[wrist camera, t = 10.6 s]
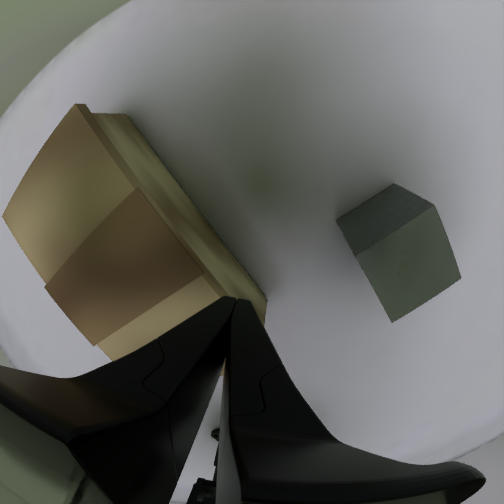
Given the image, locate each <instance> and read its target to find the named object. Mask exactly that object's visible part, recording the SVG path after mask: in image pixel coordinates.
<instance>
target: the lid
mask: <svg viewBox="0 0 504 504" xmlns="http://www.w3.org/2000/svg"><path fill="white" fill-rule="evenodd" d="M2 217H3V219H4V221H5V222H6V224H7V226H8V227H9V229H10V231H11V232H12V234H13V236H14V237H15V239H16V241H17V242H18V244H19V245H20V247H21V248H22V250H23V252H24V253H25V255H26V256H27V258H28V259H29V261H30V262H31V263H32V265H33V266H34V268H35V269H36V271H37V272H38V273H39V275H40V276H41V278H42V279H43V280H44V282H45V283H46V286H45V287H44V288H45V289H46V290H47V292H48V293H49V294H50V296H51V297H52V298H53V299H54V301H55V302H56V303H57V305H58V306H59V307H60V308H61V309H62V311H63V312H64V313H65V314H66V316H67V317H68V318H69V319H70V320H71V322H72V323H73V324H74V325H75V326H76V327H77V328H78V330H79V331H80V332H81V333H82V334H83V335H84V336H85V338H86V339H87V340H88V341H89V342H90V343H91V344H92V345H93V346H95V345H96V344H97V345H98V347H99V348H100V349H101V350H102V351H103V352H104V353H105V354H106V355H107V356H108V357H109V358H110V359H111V360H112V361H115V360H117V359H119V358H121V357H123V356H125V355H127V354H129V353H131V352H133V351H135V350H137V349H139V348H140V347H142V346H144V345H146V344H147V343H149V342H151V341H152V340H154V339H157V337H159V336H160V335H162V334H164V333H165V332H167V331H168V330H170V329H172V328H173V327H175V326H176V325H178V324H180V323H181V322H183V321H184V320H186V319H188V318H189V317H191V316H192V315H194V314H196V313H197V312H199V311H200V310H202V309H203V308H205V307H207V306H208V305H210V304H211V303H213V302H214V301H216V300H217V299H219V298H221V297H222V296H230V295H229V294H228V293H227V292H226V291H225V289H224V288H223V287H222V286H221V285H220V283H219V282H218V281H217V280H216V278H215V277H214V276H213V275H212V274H211V272H210V271H209V270H208V269H207V267H206V266H205V265H204V264H203V262H202V261H201V260H200V259H199V257H198V256H197V255H196V254H195V252H194V251H193V250H192V249H191V247H190V246H189V245H188V244H187V242H186V241H185V240H184V238H183V237H182V236H181V235H180V233H179V232H178V231H177V229H176V228H175V227H174V226H173V224H172V223H171V222H170V220H169V219H168V218H167V217H166V215H165V214H164V213H163V211H162V210H161V209H160V207H159V206H158V205H157V203H156V202H155V201H154V199H153V198H152V197H151V195H150V194H149V193H148V191H147V190H146V189H145V187H144V186H143V185H142V183H141V182H140V181H139V179H138V178H137V177H136V175H135V174H134V172H133V171H132V170H131V168H130V167H129V166H128V164H127V163H126V161H125V160H124V159H123V157H122V156H121V155H120V153H119V152H118V150H117V149H116V148H115V146H114V145H113V143H112V142H111V141H110V139H109V138H108V136H107V135H106V133H105V132H104V131H103V129H102V128H101V126H100V125H99V123H98V122H97V120H96V119H95V118H94V116H93V115H92V113H91V112H90V110H89V109H88V107H87V106H86V104H74V105H73V107H72V108H71V109H70V110H69V112H68V113H67V114H66V115H65V117H64V118H63V119H62V121H61V122H60V123H59V125H58V126H57V127H56V129H55V130H54V131H53V133H52V134H51V135H50V137H49V138H48V140H47V141H46V143H45V144H44V145H43V147H42V148H41V150H40V151H39V153H38V154H37V156H36V157H35V159H34V161H33V162H32V164H31V165H30V167H29V168H28V170H27V172H26V173H25V175H24V177H23V178H22V180H21V182H20V184H19V185H18V187H17V189H16V191H15V192H14V194H13V196H12V198H11V200H10V202H9V204H8V206H7V208H6V209H5V211H4V213H3V215H2ZM224 367H225V363H224V366H223V369H222V371H221V374H220V376H222V375H224Z"/></svg>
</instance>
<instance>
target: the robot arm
mask: <svg viewBox="0 0 504 504" xmlns="http://www.w3.org/2000/svg"><path fill="white" fill-rule="evenodd" d="M224 363H225V367H224V378H223V392H222V406H221V420H220V429H217V430H214V431H212V433H211V436H212V437H213V438H214V439H216V440H217V441H218V442H219V443H218V448H217V452H216V456H215V461H214V466H216V468H215V473H214V477H213V481H211V480H205V479H204V478H198V479H197V482H196V483H195V484H194V485H193V488H192V491H191V493H190V496H189V498H188V501H187V503H186V504H460V503H461V502H463V501H465V500H466V499H467V498H469V497H470V496H472V495H473V494H475V493H476V492H477V491H478V490H479V489H481V487H483V485H484V484H485V482H486V478H485V477H484V476H483V474H482V473H481V472H480V471H478V470H477V469H476V468H474V467H472V466H470V465H466V464H464V463H460V462H456V461H450V462H444V463H438V464H432V465H416V464H408V463H404V462H399V461H396V460H392V459H389V458H385V457H382V456H379V455H376V454H372V453H369V452H366V451H363V450H360V449H357V448H354V447H352V446H349V445H346V444H344V443H342V442H340V441H339V440H337V439H336V438H335V437H334V436H333V435H332V434H331V433H330V432H329V431H328V430H327V429H326V427H325V426H324V425H323V423H322V422H321V421H320V419H319V418H318V417H317V416H316V414H315V413H314V412H313V410H312V409H311V408H310V406H309V405H308V404H307V402H306V401H305V399H304V398H303V397H302V395H301V394H300V392H299V391H298V389H297V388H296V387H295V385H294V383H293V382H292V380H291V378H290V376H289V375H288V373H287V371H286V369H285V367H284V365H283V364H282V361H281V359H280V357H279V355H278V354H277V352H276V350H275V348H274V346H273V344H272V342H271V340H270V338H269V336H268V334H267V332H266V330H265V328H264V326H263V324H262V322H261V320H260V318H259V316H258V314H257V312H256V310H255V308H254V306H253V304H252V302H251V301H250V300H247V299H242V298H238V299H236V298H235V297H231V296H222V297H221V298H219V299H217V300H216V301H214V302H213V303H211V304H210V305H208V306H207V307H205V308H203V309H202V310H200V311H199V312H197V313H196V314H194V315H192V316H191V317H189V318H188V319H186V320H184V321H183V322H181V323H180V324H178V325H176V326H175V327H173V328H172V329H170V330H168V331H167V332H165V333H164V334H162V335H160V336H159V337H157V339H154V340H152V341H151V342H149V343H147V344H146V345H144V346H142V347H140V348H139V349H137V350H135V351H133V352H131V353H129V354H127V355H125V356H123V357H121V358H119V359H117V360H115V361H112V362H110V363H108V364H106V365H104V366H101V367H99V368H97V369H95V370H92V371H90V372H88V373H86V374H83V375H80V376H77V377H73V378H56V377H51V376H45V375H40V374H35V373H31V372H26V371H22V370H17V369H13V368H9V367H5V366H1V365H0V504H169V502H170V499H171V497H172V495H173V492H174V490H175V487H176V485H177V482H178V480H179V477H180V475H181V472H182V470H183V467H184V465H185V463H186V460H187V458H188V455H189V453H190V450H191V448H192V445H193V443H194V440H195V438H196V435H197V433H198V430H199V428H200V425H201V422H202V420H203V417H204V415H205V412H206V410H207V407H208V405H209V402H210V400H211V397H212V395H213V392H214V389H215V387H216V384H217V382H218V379H219V377H220V374H221V371H222V369H223V366H224Z"/></svg>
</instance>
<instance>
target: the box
mask: <svg viewBox="0 0 504 504" xmlns="http://www.w3.org/2000/svg"><path fill="white" fill-rule="evenodd" d="M92 115H93V116H94V118H95V119H96V120H97V122H98V123H99V125H100V126H101V128H102V129H103V131H104V132H105V133H106V135H107V136H108V138H109V139H110V141H111V142H112V143H113V145H114V146H115V148H116V149H117V150H118V152H119V153H120V155H121V156H122V157H123V159H124V160H125V161H126V163H127V164H128V166H129V167H130V168H131V170H132V171H133V172H134V174H135V175H136V177H137V178H138V179H139V181H140V182H141V183H142V185H143V186H144V187H145V189H146V190H147V191H148V193H149V194H150V195H151V197H152V198H153V199H154V201H155V202H156V203H157V205H158V206H159V207H160V209H161V210H162V211H163V213H164V214H165V215H166V217H167V218H168V219H169V220H170V222H171V223H172V224H173V226H174V227H175V228H176V229H177V231H178V232H179V233H180V235H181V236H182V237H183V238H184V240H185V241H186V242H187V244H188V245H189V246H190V247H191V249H192V250H193V251H194V252H195V254H196V255H197V256H198V257H199V259H200V260H201V261H202V262H203V264H204V265H205V266H206V267H207V269H208V270H209V271H210V272H211V274H212V275H213V276H214V277H215V278H216V280H217V281H218V282H219V283H220V285H221V286H222V287H223V288H224V289H225V291H226V292H227V293H228V294H229V295H230V296H231V297H235V298H236V299H238V298H242V299H247V300H250V301H251V302H252V304H253V306H254V308H255V310H256V312H257V314H258V316H259V318H260V320H261V322H262V324H263V326H264V323H265V315H266V306H267V299H266V297H265V296H264V295H263V294H262V292H261V291H260V290H259V288H258V287H257V286H256V285H255V283H254V282H253V281H252V280H251V278H250V277H249V276H248V274H247V273H246V272H245V271H244V269H243V268H242V267H241V265H240V264H239V263H238V262H237V260H236V259H235V258H234V256H233V255H232V254H231V253H230V251H229V250H228V249H227V247H226V246H225V245H224V243H223V242H222V241H221V240H220V238H219V237H218V236H217V234H216V233H215V232H214V231H213V229H212V228H211V227H210V225H209V224H208V223H207V221H206V220H205V219H204V217H203V216H202V215H201V214H200V212H199V211H198V210H197V208H196V207H195V206H194V204H193V203H192V202H191V200H190V199H189V198H188V196H187V195H186V194H185V192H184V191H183V190H182V189H181V187H180V186H179V185H178V183H177V182H176V181H175V179H174V178H173V177H172V175H171V174H170V173H169V171H168V170H167V169H166V167H165V166H164V165H163V163H162V162H161V161H160V159H159V158H158V157H157V155H156V154H155V153H154V151H153V150H152V149H151V147H150V146H149V144H148V143H147V142H146V140H145V139H144V138H143V136H142V135H141V134H140V132H139V131H138V130H137V128H136V127H135V126H134V124H133V123H132V121H131V120H130V119H129V117H128V116H127V115H126V114H106V113H92Z"/></svg>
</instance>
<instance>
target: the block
mask: <svg viewBox="0 0 504 504" xmlns="http://www.w3.org/2000/svg"><path fill="white" fill-rule="evenodd" d="M336 222H337V224H338V225H339V227H340V229H341V231H342V233H343V235H344V237H345V238H346V240H347V242H348V244H349V246H350V248H351V250H352V252H353V254H354V256H355V257H356V259H357V261H358V263H359V264H360V266H361V268H362V269H363V271H364V273H365V275H366V276H367V278H368V280H369V282H370V283H371V285H372V287H373V289H374V291H375V292H376V294H377V296H378V298H379V300H380V302H381V303H382V305H383V307H384V309H385V311H386V313H387V315H388V317H389V319H390V320H391V322H392V323H393V322H394V321H396V320H398V319H399V318H401V317H403V316H404V315H406V314H408V313H409V312H411V311H413V310H414V309H416V308H417V307H419V306H421V305H422V304H424V303H425V302H427V301H428V300H430V299H432V298H433V297H435V296H436V295H438V294H439V293H441V292H442V291H444V290H445V289H447V288H448V287H450V286H451V285H452V284H454V283H455V282H457V281H458V280H460V279H461V275H460V272H459V269H458V266H457V263H456V260H455V257H454V254H453V251H452V248H451V245H450V243H449V240H448V237H447V235H446V232H445V229H444V227H443V224H442V222H441V219H440V217H439V214H438V212H437V210H436V207H435V205H434V204H432V203H430V202H428V201H427V200H425V199H423V198H421V197H419V196H418V195H416V194H414V193H412V192H410V191H408V190H406V189H404V188H402V187H401V186H399V185H397V184H395V183H394V184H393V185H391V186H390V187H388V188H387V189H385V190H384V191H382V192H380V193H379V194H377V195H376V196H374V197H373V198H371V199H369V200H368V201H366V202H365V203H363V204H362V205H360V206H359V207H357V208H355V209H354V210H352V211H351V212H349V213H347V214H346V215H344V216H343V217H341V218H340V219H338V220H336Z"/></svg>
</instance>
